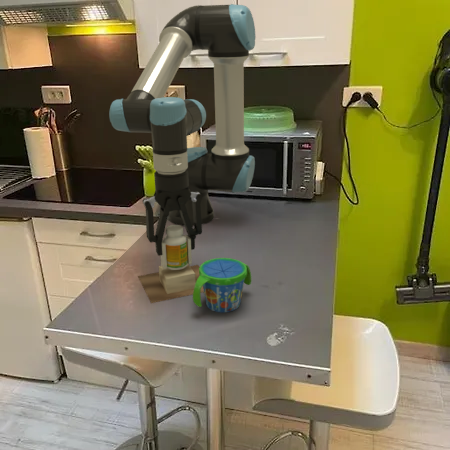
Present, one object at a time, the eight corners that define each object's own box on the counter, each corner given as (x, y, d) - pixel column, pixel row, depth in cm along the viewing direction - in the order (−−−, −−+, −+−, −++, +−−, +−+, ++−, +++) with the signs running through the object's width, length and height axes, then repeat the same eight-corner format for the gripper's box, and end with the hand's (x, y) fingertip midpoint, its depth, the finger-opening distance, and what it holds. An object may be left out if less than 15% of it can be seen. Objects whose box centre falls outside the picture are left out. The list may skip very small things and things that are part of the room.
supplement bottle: (184, 271, 113) (182, 233, 109) (162, 269, 114) (159, 231, 110) (190, 261, 118) (188, 224, 114) (169, 259, 119) (166, 222, 115)
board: (138, 280, 122) (137, 276, 122) (198, 268, 128) (197, 264, 127) (151, 307, 110) (151, 303, 110) (216, 293, 116) (216, 289, 115)
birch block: (159, 280, 120) (158, 266, 118) (186, 275, 122) (186, 261, 120) (167, 294, 114) (166, 278, 112) (195, 288, 116) (195, 273, 114)
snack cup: (237, 288, 118) (237, 250, 114) (264, 306, 110) (265, 266, 106) (182, 308, 110) (180, 268, 106) (207, 330, 102) (206, 287, 98)
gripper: (133, 179, 100) (141, 278, 109) (216, 169, 107) (217, 263, 116) (126, 170, 107) (134, 264, 116) (204, 161, 113) (207, 251, 122)
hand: (176, 263), depth 116 cm, fingers closed on supplement bottle, 5 cm apart
